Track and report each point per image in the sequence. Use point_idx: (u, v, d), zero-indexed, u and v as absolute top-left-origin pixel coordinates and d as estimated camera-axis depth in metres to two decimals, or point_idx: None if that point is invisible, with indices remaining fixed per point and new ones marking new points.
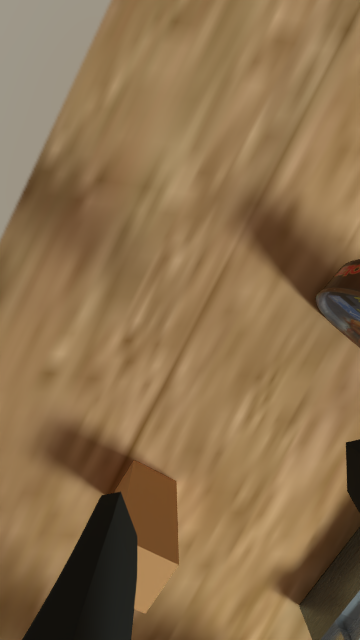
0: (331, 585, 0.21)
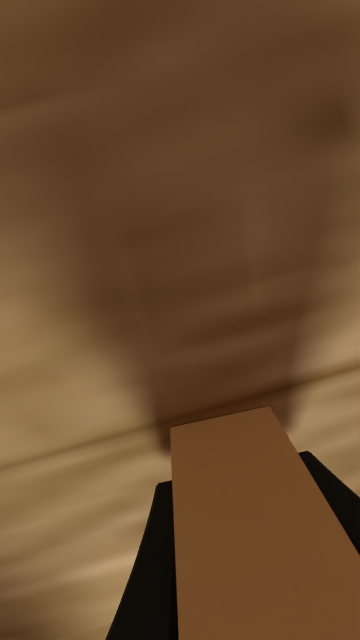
0: None
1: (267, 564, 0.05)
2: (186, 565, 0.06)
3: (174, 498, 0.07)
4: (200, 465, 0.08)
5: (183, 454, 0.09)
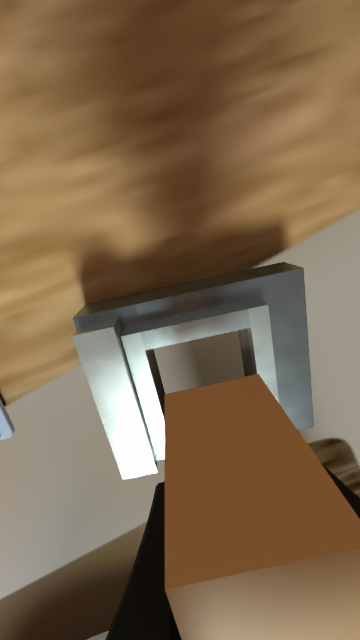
0: (143, 296, 0.16)
1: (248, 488, 0.06)
2: (174, 493, 0.06)
3: (166, 446, 0.08)
4: (191, 421, 0.09)
5: (176, 413, 0.09)
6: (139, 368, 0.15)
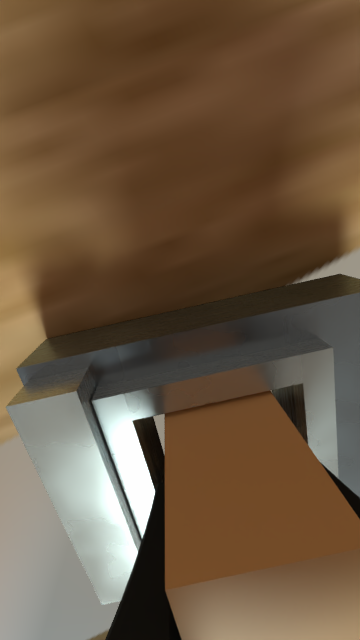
0: (131, 327, 0.10)
1: (248, 488, 0.06)
2: (174, 493, 0.06)
3: (166, 446, 0.08)
4: (191, 421, 0.09)
5: (176, 414, 0.09)
6: (124, 447, 0.09)
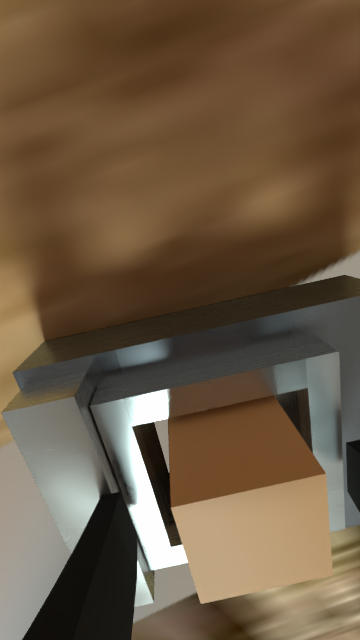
0: (130, 330, 0.10)
1: (234, 441, 0.08)
2: (176, 447, 0.08)
3: None
4: None
5: None
6: (123, 453, 0.09)
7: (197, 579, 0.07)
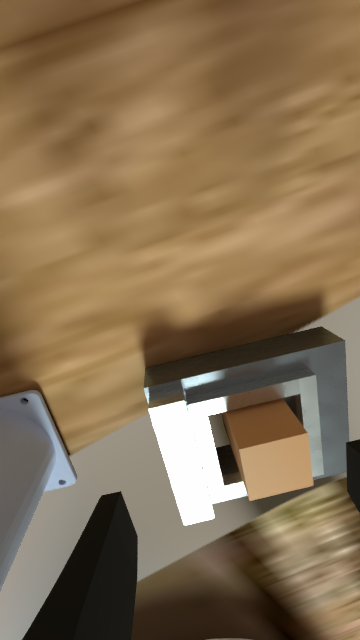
0: (199, 362, 0.18)
1: (263, 421, 0.15)
2: (234, 425, 0.16)
3: None
4: None
5: None
6: (202, 431, 0.17)
7: (248, 487, 0.15)
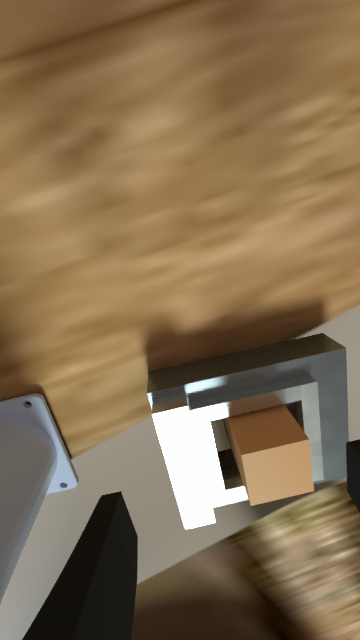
0: (202, 367, 0.18)
1: (265, 427, 0.16)
2: (236, 430, 0.16)
3: None
4: None
5: None
6: (204, 436, 0.17)
7: (250, 492, 0.15)
